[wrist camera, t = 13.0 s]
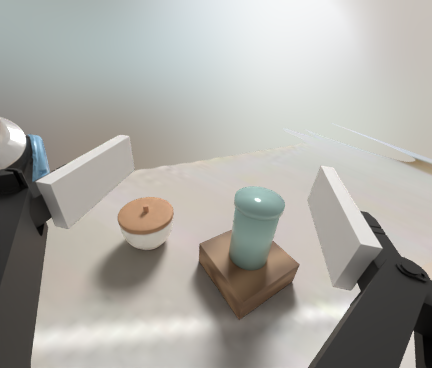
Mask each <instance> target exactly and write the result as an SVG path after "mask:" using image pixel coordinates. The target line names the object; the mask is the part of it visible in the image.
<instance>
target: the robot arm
mask: <svg viewBox="0 0 432 368" xmlns="http://www.w3.org/2000/svg"><path fill="white" fill-rule="evenodd" d="M133 171H134V164H133V156H132V150H131V142H130V136H124V135H118V136H116V137H115V138H113V139H111V140H109V141H107V142H106V143H104V144H102V145H100V146H98V147H97V148H95V149H93V150H91V151H89V152H88V153H86V154H84V155H82V156H80V157H79V158H77V159H75V160H74V161H72V162H70V163H68V164H65V165H63V166H61V167H59V168H57V169H56V170H54V171H52V172H50V171H49V166H48V161H47V156H46V152H45V148H44V144H43V140H42V138H41V137H39V136H37V135H30V134H28V135H26V136H25V134H24V133H23V131H22V130H21V128H19V126H17V125H16V124H15V123H13V122H11V121H9V120H7V119H5V118H1V117H0V368H31V355H32V347H33V339H34V331H35V324H36V316H37V308H38V301H39V293H40V285H41V278H42V270H43V262H44V255H45V247H46V239H47V232H48V226H47V223H46V221H48V220H49V219H50V218H51V217H52V219H53V222H54V224H55V226H57V227H62V228H66V229H69V228H70V227H71V226H73V225H74V224H75V223H76V222H77V221H78V220H79V219H80V218H81V217H83V216H84V215H85V214H86V213H87V212H88V211H89V210H90V209H92V208H93V207H94V206H95V205H96V204H97V203H98V202H99V201H100V200H102V199H103V198H104V197H105V196H106V195H107V194H108V193H109V192H111V191H112V190H113V189H114V188H115V187H116V186H117V185H118V184H120V183H121V182H122V181H123V180H124V179H125V178H126V177H127V176H128V175H130V174H131V173H132V172H133ZM307 201H308V204H309V208H310V211H311V215H312V218H313V221H314V225H315V228H316V231H317V235H318V238H319V242H320V245H321V248H322V252H323V255H324V258H325V262H326V265H327V269H328V272H329V275H330V279H331V282H332V285H333V287H337V288H341V289H346V290H350V291H351V290H352V289H353V287H354V286H355V285H356V283H358V285H359V288H360V290H361V292H360V293H359V294H358V296H357V297H356V298H355V299H354V301H353V302H352V303H351V304H350V307H349V309H348V310H347V312H346V313H345V314H344V316H343V317H342V319H341V320H340V322H339V323H338V325H337V326H336V327H335V329H334V330H333V332H332V333H331V335H330V336H329V338H328V339H327V341H326V342H325V343H324V345H323V346H322V348H321V349H320V351H319V352H318V354H317V355H316V357H315V358H314V359H313V361H312V362H311V364H310V365H309V367H308V368H399V367H400V364H401V361H402V359H403V356H404V353H405V350H406V348H407V345H408V342H409V340H410V337H411V334H412V332H413V331H414V340H415V358H416V368H432V280H430V278H429V277H428V275H427V273H426V272H425V271H424V270H423V269H422V268H421V267H420V266H418V265H417V264H416V263H414V262H413V261H411V260H408V259H406V258H404V257H401V256H400V254H399V253H398V251H397V250H396V248H395V247H394V245H393V244H392V242H391V241H390V240H389V238H388V237H387V235H385V232H384V231H383V229H381V226H380V225H379V223H378V222H377V220H376V219H375V218H373V217H372V216H371V215H370V214H369V213H367V212H362V211H360V210H359V209H358V207H357V205H356V204H355V202H354V200H353V199H352V197H351V196H350V194H349V192H348V191H347V189H346V187H345V186H344V184H343V183H342V181H341V179H340V178H339V176H338V174H337V173H336V171H335V169H334V168H333V167H327V166H320V169H319V171H318V174H317V176H316V179H315V182H314V184H313V187H312V189H311V192H310V194H309V197H308V199H307Z"/></svg>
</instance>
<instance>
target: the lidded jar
mask: <svg viewBox="0 0 432 368" xmlns="http://www.w3.org/2000/svg"><path fill="white" fill-rule="evenodd" d="M118 222H119V225H120V228H121V231H122V234H123V236H124V238H125V239H126V241H127V242H128V243H129V244H130V245H132V246H133V247H135V248H138V249H142V250H152V249H155V248H157V247H159V246H160V245H161V244H163V243H164V242H165V241H166V240H167V238H168V237H169V235H170V233H171V231H172V226H173V207H172V206H171V204H170V203H169V202H167V201H166V200H163V199H161V198H155V197H146V198H140V199H136V200H134V201H131V202H129V203H128V204H126V205H125V206H124V207H123V208H122V209H121V210H120V212H119V214H118Z"/></svg>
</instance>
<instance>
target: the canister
mask: <svg viewBox="0 0 432 368" xmlns="http://www.w3.org/2000/svg"><path fill="white" fill-rule="evenodd" d="M234 204H235V213H234V220H233V227H232V233H231V240H230V247H229V256H230V259H231V260H232V262H233V263H234V264H235V265H237V266H238V267H240V268H242V269H245V270H258V269H260V268H262V267H263V266H264V265H265V264H266V262H267V258H268V255H269V251H270V248H271V245H272V241H273V238H274V234H275V231H276V227H277V224H278V220H279V217H280V216H281V215H282V214H283V211H284V207H285V202H284V200H283V199H282V197H281V196H280V195H278V194H277V193H275V192H274V191H272V190H269V189H266V188H262V187H245V188H242V189H240V190H238V191H237V192H236V194H235V200H234Z"/></svg>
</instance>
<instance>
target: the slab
mask: <svg viewBox="0 0 432 368" xmlns="http://www.w3.org/2000/svg"><path fill="white" fill-rule="evenodd" d="M231 233H232V230H230V231H228V232H225V233H223V234H221V235H219V236H216V237H214V238H212V239H209V240H207V241H205V242H202V243H200V247H199V262H200V263H201V265H202V266H203V268H204V269H205V271H206V272H207V274H208V275H209V277H210V278H211V280H212V281H213V282H214V284H215V285H216V287H217V288H218V290H219V291H220V293H221V294H222V296H223V297H224V299H225V300H226V301H227V303H228V304H229V306H230V307H231V309H232V310H233V312H234V313H235V315H236V316H237V318H238V319H239V320H240V319H241V318H243V317H244V316H245V315H247V314H248V313H250V312H251V311H252V310H254V309H255V308H257V307H258V306H259V305H261V304H262V303H263V302H265V301H266V300H268V299H269V298H270V297H272V296H273V295H275V294H276V293H277V292H279V291H280V290H281V289H283V288H284V287H286V286H287V285H288V284H290V283H291V282H292V281H293V279H294V276H295V274H296V272H297V269H298V267H299V265H300V264H298V263H297V262H296V261H295V260H294V259H293V258H292V257H291V256H289V255H288V254H287V253H286V252H285V251H284V250H283V249H282V248H280V247H279V246H278V245H277V244H276V243H275V242H274V241H272V245H271V248H270V251H269V255H268V258H267V262H266V264H265V265H264V266H263V267H262V268H260V269H258V270H245V269H242V268H240V267H238V266H237V265H235V264H234V263H233V262H232V260H231V259H230V256H229V247H230V240H231Z"/></svg>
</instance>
